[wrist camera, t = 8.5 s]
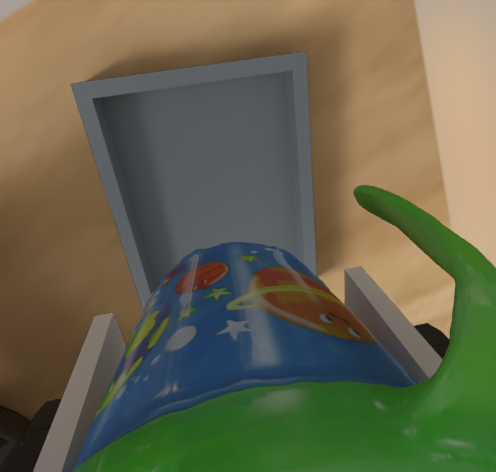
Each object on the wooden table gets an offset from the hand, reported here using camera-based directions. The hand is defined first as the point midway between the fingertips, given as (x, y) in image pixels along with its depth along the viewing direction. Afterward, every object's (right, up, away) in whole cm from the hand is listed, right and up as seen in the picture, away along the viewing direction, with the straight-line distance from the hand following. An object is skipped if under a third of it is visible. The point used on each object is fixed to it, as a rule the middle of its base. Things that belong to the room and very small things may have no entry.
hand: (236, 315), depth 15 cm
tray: (-2, +6, +14) cm, 15 cm away
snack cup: (0, 0, 0) cm, 1 cm away
